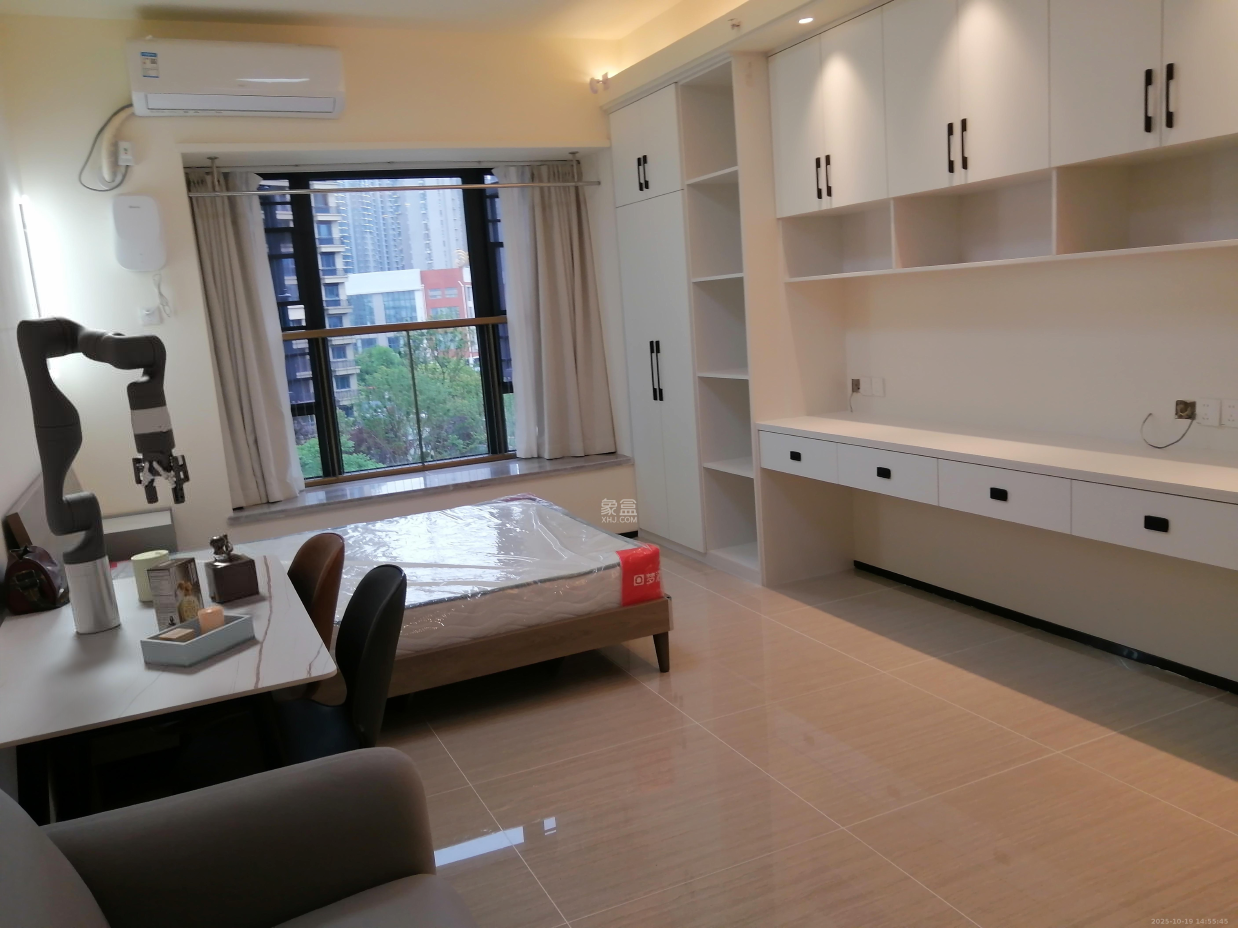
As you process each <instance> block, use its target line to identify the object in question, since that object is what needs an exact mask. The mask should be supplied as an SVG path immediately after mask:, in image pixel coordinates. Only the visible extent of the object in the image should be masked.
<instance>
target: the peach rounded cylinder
mask: <svg viewBox="0 0 1238 928" xmlns="http://www.w3.org/2000/svg"><path fill="white" fill-rule="evenodd" d="M223 613H224V609H223V607H222V606H220V605H215V606H208V607H204V609H202V610H200V611H198V617H199V622H200V628H201V633H202V635H204V634H207V633H209V632H211V631H214V630H216V629H218V628H221V627H223V626H225V620H224V614H225V613H224V614H223Z"/></svg>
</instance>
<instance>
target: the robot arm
mask: <svg viewBox="0 0 1238 928" xmlns="http://www.w3.org/2000/svg"><path fill="white" fill-rule="evenodd" d="M16 340H17V347H18V351H19V355H20V359H21V363H22V366H23V370H24V374H25V379H26V381H27V386H28V393H29V398H30V399H29V400H30V403H31V411H32V418H33V427H34V434H35V435H34V436H35V438H36V439H35V440H36V445H37V450H38V454H39V459H40V466H41V472H42V474H41V475H42V481H43V482H42V483H43V494H44V495H43V496H44V508H45V516H46V522H47V525H48V529H49V531H50V532H51V533H52V534H53V535H54V536H56V537H64V536H67V535H73V534H77V533H81V532H82V533H83V532H84V534H83V536H82V538H80V540H78V541H77V542H76V543H74V544H73V545H72V546H71V545H70V546H69V547H68V548H66V549H65V550H64V551H63V552H62V560H63V561H62V562H63V565H64V570H65V574H66V579H67V584H68V589H69V593H68V597H69V601H70V606H71V611H72V617H73V620H74V626H75V630H76V631H77V632H78V633H79V634H84V635H85V634H94V633H99V632H104V631H106V630H110V629H113V628H115V627H117V626H119V625H120V624H121V618H120V611H119V607H118V602H117V597H116V591H115V586H114V582H113V577H112V576H113V575H112V572H111V567H110V562H109V561H110V560H109V556H108V552H107V545H106V538H105V532H104V526H103V518H102V511H101V506H100V503H99V500H98V498H97V496H96V495H95V493H94V492H91V491H82V492H76V493H72V494H65V495H64V485H65V481H66V477H67V475H68V472H69V470H70V468H71V466H72V464H73V463H74V461H75V459H76V458H77V455H78V453H79V451H80V449H81V447H82V443H83V431H82V422H81V417H80V413H79V411H78V409H77V407H76V406H75V405H74V403H72V401H71V400H70V399H69V398H68V397H67V396H66V395H65V394H64V392H62V391H61V389H60V388H59V387H58V386H57V385H56V384H55V382H54V381H53V378H52V376H51V372H50V371H49V366H48V360H47V359H54V358H60V357H61V358H63V357H65V356H69V355H73V354H82V355H83V356H85V357H86V358H87V359H89V360H92V361H93V362H98V363H103V364H109V365H110V366H112V367H113V368H115V369H118V370H124V371H133V370H141V369H142V374H141V377H140V378H139V379H136V380H134V381H132V382H129V383H128V384H127V385H126V395H127V398H128V399H127V400H128V405H129V409H130V410H129V411H130V422H131V428H132V432H133V439H134V444H135V449H136V452H137V454H138V456H136V457H135V456H134V457H132V458H131V460H132V461H131V463H132V468H133V474H134V475H133V476H134V481H135V482H134V483H135V485H141V487H142V488H144V489H143V490H144V495H145V499H146V501H147V504H149V505H153V504H157V503H158V502H159V498H158V497H159V496H158V490H157V485H156V482H157V479H158V478H159V477H160V478H161V477H162V478H163V480H166V481H167V482H168V483H169V484H170V486H171V492H172V498H173V499H172V500H173V503H174V504H175V505H180V504H184V503H185V502H186V495H185V490H184V485H185V484H186V483H189V482H190V480H191V479H190V474H189V469H188V465H187V461H186V457H185V455H184V454H178V455H174V454H173V453H174V452H173V450H174V449H175V448H176V441H175V437H174V429H173V426H172V425H173V424H172V420H171V416H170V412H169V409H168V406H167V399H166V394H165V389H164V385H165V376H166V375H165V372H166V364H167V349H166V346H165V344H164V342H163V341H162V339H161V338H160V337H159V336H158V335H156V334H152V333H147V334H144V333H143V334H136V335H135V334H134V335H133V334H131V335H126V334H124V333H122V332H118V331H113V330H108V329H101V328H95V327H90V326H87V325H85V324H82V323H80V322H77V321H75V320H73V319H71V318H68V317H65V316H60V315H49V316H43V317H42V316H41V317H33V318H32V317H31V318H24V319H22V320H20V321H19V322H18V323H17V327H16ZM139 454H141V456H139ZM141 473H142V475H141ZM181 473H182V474H181ZM181 475H182V476H181Z"/></svg>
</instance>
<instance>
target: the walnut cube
mask: <svg viewBox="0 0 1238 928" xmlns="http://www.w3.org/2000/svg"><path fill="white" fill-rule="evenodd" d="M195 638H196V636H195V631H194V630H191V629H180V628H178V629H175V630H173V631H171V632H168V633H166V634H163V635H161V636H158V639H159V640H160V641H170V642H180V643H186V642H188V641H190V640H193V639H195Z"/></svg>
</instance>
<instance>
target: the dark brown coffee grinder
mask: <svg viewBox="0 0 1238 928" xmlns="http://www.w3.org/2000/svg"><path fill="white" fill-rule="evenodd" d="M228 537H229V534H227V533H224V534H222V535H215V536H213V537H211V538H210V541H209V546H210V547H211V548H213V555H214V556H213V558H214V559H213V560H211V561H206V562H205V561H204V563H203V565H204V566H203V567H204V572H205V577H206V579H205V580H206V584H207V588H208V597H209V598H210V599H211V600H212V601H214V602H216V603H219V604H223V603H229V602H233V601H237V600H242V599H246V598H249V597H253V596H257V595H260V588H259V580H258V573H257V565H256V561H255V559H254V558H251V557H249V556H247V555H246V554H243V553H241V554H239V553H234V549H235V548H234V546H233V544H231V542H230V541H229V538H228ZM232 552H233V553H232ZM215 556H217V557H215Z"/></svg>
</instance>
